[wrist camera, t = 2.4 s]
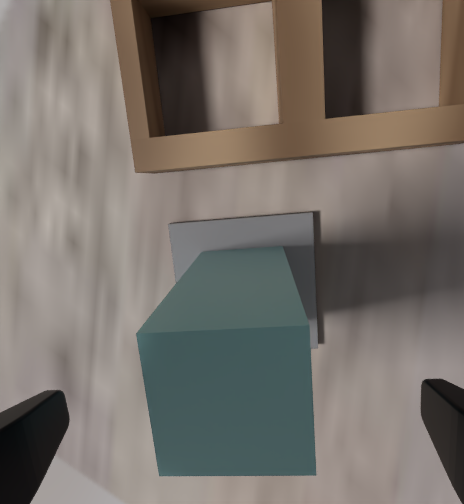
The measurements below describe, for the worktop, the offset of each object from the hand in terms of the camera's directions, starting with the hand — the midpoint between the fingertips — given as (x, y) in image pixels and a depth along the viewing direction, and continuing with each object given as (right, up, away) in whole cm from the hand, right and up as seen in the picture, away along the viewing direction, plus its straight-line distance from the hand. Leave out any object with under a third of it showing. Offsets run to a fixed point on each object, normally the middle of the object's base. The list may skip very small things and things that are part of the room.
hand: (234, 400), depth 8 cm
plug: (+1, +2, +8) cm, 9 cm away
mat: (+1, +2, +9) cm, 9 cm away
